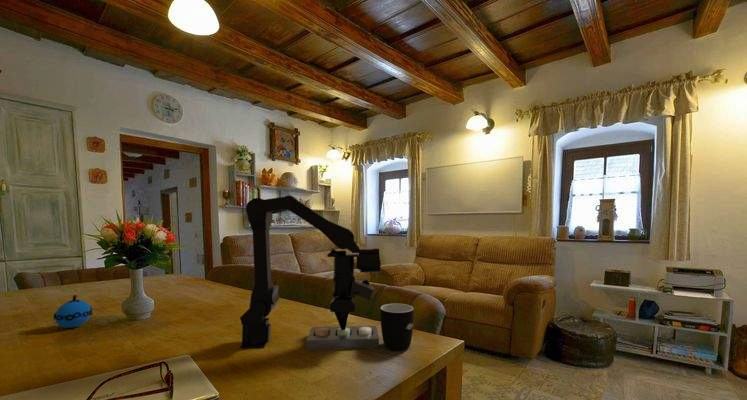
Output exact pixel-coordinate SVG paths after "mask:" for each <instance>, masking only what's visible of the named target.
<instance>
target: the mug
mask: <svg viewBox="0 0 747 400" xmlns="http://www.w3.org/2000/svg"><path fill="white" fill-rule="evenodd" d="M379 313H380V314H379V315H380V327H381V336H382V341H383V344H384V347H385V348H386V349H387V350H390V351H391V352H393V351H394V352H402V351H406V350H408V349H409V348H410V345H411V344H412V339H413V333H414V321H415V320H414V316H415V315H414V314H415V312H414V307H413V306H412V305H409V304H405V303H387V304H382V305H381V306H380V312H379Z"/></svg>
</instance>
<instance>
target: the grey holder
mask: <svg viewBox="0 0 747 400" xmlns="http://www.w3.org/2000/svg"><path fill="white" fill-rule="evenodd" d="M346 327H347V328H350V335H339V336H337V329H338V328H340V326H311V328H310V331H309V333H308V335H307V338H306V341H305V342H306V343H305V345H306V346H305V350H306V351H313V350H314V351H315V350H317V351H320V350H348V349H349V350H354V349H358V350H359V349H379V348H380V337H379V333H378V326H377V325H353V326H352V325H351V326H347V325H346ZM361 327H370V328H371V335H359V328H361ZM318 328H328V336H315V330H316V329H318Z"/></svg>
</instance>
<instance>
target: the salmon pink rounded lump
mask: <svg viewBox="0 0 747 400" xmlns="http://www.w3.org/2000/svg"><path fill="white" fill-rule="evenodd" d="M315 336H328V328H318V329H316V330H315Z"/></svg>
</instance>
